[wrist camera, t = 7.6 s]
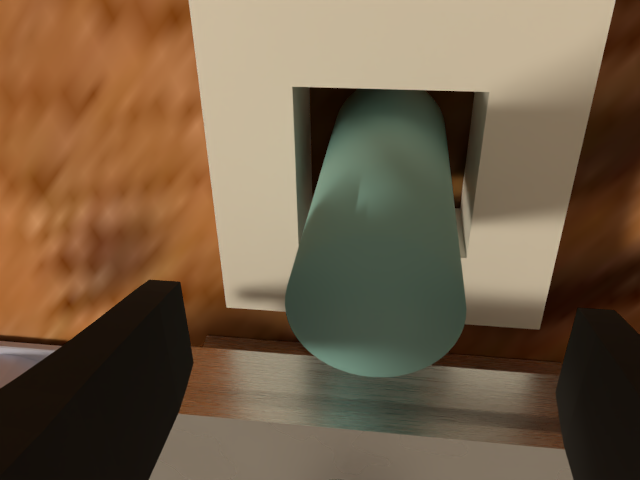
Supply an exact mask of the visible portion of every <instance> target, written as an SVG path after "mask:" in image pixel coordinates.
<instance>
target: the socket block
mask: <svg viewBox="0 0 640 480" xmlns="http://www.w3.org/2000/svg"><path fill="white" fill-rule="evenodd" d="M615 1H616V0H189V6H190V14H191V22H192V31H193V39H194V47H195V55H196V63H197V71H198V80H199V88H200V96H201V104H202V112H203V120H204V129H205V137H206V145H207V153H208V161H209V169H210V178H211V186H212V194H213V202H214V210H215V218H216V226H217V235H218V243H219V251H220V259H221V267H222V275H223V284H224V292H225V300H226V307H227V308H241V309H255V310H269V311H283V312H286V309H285V294H286V289H287V285H288V281H289V278H290V274H291V271H292V268H293V264H294V261H295V257H296V254H297V251H298V247H299V244H300V240H301V237H302V234H303V230H304V227H305V223H306V220H307V217H308V213H309V210H310V206H311V203H312V163H311V122H310V87H324V88H361V89H398V90H435V91H472V92H474V100H473V108H472V116H471V124H470V132H469V140H468V149H467V157H466V165H465V173H464V181H463V189H462V197H461V205H460V208H455V214H456V222H457V231H458V239H459V248H460V256H461V265H462V273H463V282H464V290H465V299H466V308H467V309H466V320H465V324H467V325H481V326H496V327H510V328H524V329H538V330H540V326H541V321H542V317H543V313H544V308H545V304H546V300H547V295H548V291H549V287H550V282H551V278H552V274H553V269H554V265H555V261H556V256H557V252H558V248H559V243H560V239H561V235H562V230H563V226H564V222H565V217H566V213H567V209H568V204H569V200H570V196H571V191H572V187H573V183H574V178H575V174H576V170H577V165H578V161H579V157H580V152H581V148H582V144H583V139H584V135H585V131H586V126H587V122H588V118H589V113H590V109H591V105H592V100H593V96H594V92H595V87H596V83H597V79H598V74H599V70H600V66H601V61H602V57H603V53H604V48H605V44H606V40H607V35H608V31H609V27H610V23H611V18H612V14H613V10H614V5H615Z"/></svg>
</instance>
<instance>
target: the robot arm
mask: <svg viewBox="0 0 640 480" xmlns="http://www.w3.org/2000/svg"><path fill="white" fill-rule="evenodd" d="M193 364H194V361H193V355H192V349H191V343H190V337H189V331H188V325H187V319H186V314H185V308H184V302H183V296H182V290H181V284H180V282H175V281H159V280H148V281H147V282H146V283H144V284H143V285H141V286H140V287H139V288H137V289H136V290H135V291H133V292H132V293H131V294H129V295H128V296H127V297H126V298H124V299H123V300H122V301H120V302H119V303H118V304H117V305H115V306H114V307H113V308H111V309H110V310H109V311H108V312H106V313H105V314H104V315H103V316H101V317H100V318H99V319H97V320H96V321H95V322H93V323H92V324H91V325H89V326H88V327H87V328H85V329H84V330H83V331H82V332H80V333H79V334H78V335H76V336H75V337H74V338H72V339H71V340H70V341H68V342H67V343H66V344H64V345H63V346H56V345H44V344H32V343H19V342H7V341H0V480H149V478H150V476H151V474H152V471H153V469H154V467H155V465H156V463H157V460H158V458H159V456H160V454H161V452H162V449H163V447H164V445H165V443H166V440H167V438H168V436H169V434H170V431H171V429H172V427H173V424H174V422H175V420H176V418H177V415H178V413H179V411H180V407H181V404H182V401H183V398H184V395H185V391H186V388H187V385H188V381H189V378H190V374H191V371H192V367H193ZM555 394H556V401H557V407H558V414H559V421H560V427H561V433H562V439H563V444H564V448H565V452H566V455H567V459H568V462H569V466H570V469H571V473H572V476H573V480H640V335H639V334H638V333H637V332H636V331H635V330H634V329H633V328H632V327H631V326H630V325H629V324H628V323H627V322H626V321H625V320H624V319H623V318H622V317H621V316H620V315H619V314H618V313H617V312H616V311H615V310H604V309H589V308H577V312H576V316H575V320H574V323H573V327H572V331H571V335H570V338H569V342H568V346H567V350H566V353H565V357H564V361H563V365H562V368H561V372H560V376H559V380H558V383H557V387H556V391H555Z"/></svg>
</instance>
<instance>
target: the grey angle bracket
mask: <svg viewBox="0 0 640 480" xmlns="http://www.w3.org/2000/svg"><path fill="white" fill-rule="evenodd" d="M191 349H192V355H193V361H194V364H193V367H192V371H191V374H190V378H189V381H188V385H187V388H186V391H185V395H184V398H183V401H182V404H181V407H180V411H179V413H178V415H177V418H176V420H175V422H174V424H173V427H172V429H171V431H170V434H169V436H168V438H167V440H166V443H165V445H164V447H163V449H162V452H161V454H160V456H159V458H158V460H157V463H156V465H155V467H154V469H153V471H152V474H151V476H150V478H149V480H573V476H572V473H571V469H570V466H569V462H568V459H567V455H566V452H565V448H564V444H563V439H562V433H561V427H560V421H559V414H558V407H557V401H556V394H555V391H556V387H557V383H558V380H559V376H560V372H561V368H562V363H561V362H549V361H535V360H522V359H509V358H496V357H483V356H470V355H457V354H445V355H444V356H443V357H442V358H441V359H439V360H438V361H436V362H435V363H433V364H431V365H430V366H428V367H426V368H424V369H421V370H419V371H416V372H413V373H409V374H406V375H401V376H394V377H367V376H360V375H356V374H351V373H348V372H345V371H342V370H339V369H337V368H334V367H332V366H330V365H328V364H326V363H325V362H323V361H321V360H320V359H318V358H317V357H315V356H314V355H313V354H311V353H310V352H309V351H308V350H307V349H306V348H305V347H304V346H303V345H302V344H301V343H300V342H287V341H274V340H261V339H247V338H234V337H221V336H208V335H207V337H206V339H205V342H204V344H203V346H202V347H191Z"/></svg>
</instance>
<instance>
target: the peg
mask: <svg viewBox="0 0 640 480" xmlns="http://www.w3.org/2000/svg"><path fill="white" fill-rule="evenodd" d="M285 309H286V315H287V319H288V322H289V325H290V327H291V329H292V331H293V333H294V334H295V336H296V337H297V339H298V340H299V341H300V342H301V344H302V345H303V346H304V347H305V348H306V349H307V350H308V351H309V352H310V353H311V354H313V355H314V356H315V357H317V358H318V359H320V360H321V361H323V362H325V363H326V364H328V365H330V366H332V367H334V368H337V369H339V370H342V371H345V372H348V373H351V374H356V375H360V376H367V377H394V376H401V375H406V374H409V373H413V372H416V371H419V370H421V369H424V368H426V367H428V366H430V365H431V364H433V363H435V362H436V361H438V360H439V359H441V358H442V357H443V356H444V355H445V354H446V353H448V352H449V351H450V349H451V348H452V347H453V346H454V345H455V343H456V342H457V340H458V338H459V337H460V335H461V333H462V330H463V328H464V324H465V320H466V309H467V308H466V299H465V290H464V282H463V273H462V265H461V256H460V248H459V239H458V231H457V222H456V214H455V206H454V197H453V189H452V180H451V172H450V163H449V155H448V146H447V138H446V129H445V121H444V117H443V114H442V112H441V109H440V107H439V106H438V104H437V102H436V101H435V100H434V99H433V97H432V96H431V95H429V94H428V93H427V92H426V91H425V90H398V89H361V88H359V89H357V90H356V91H355V92H353V93H352V94H351V95H350V96H349V97H348V98H347V99H346V101H345V102H344V103H343V105H342V106H341V108H340V110H339V112H338V115H337V118H336V121H335V125H334V128H333V131H332V135H331V138H330V142H329V145H328V148H327V152H326V155H325V159H324V162H323V165H322V169H321V172H320V176H319V179H318V183H317V186H316V189H315V193H314V196H313V200H312V203H311V206H310V210H309V213H308V217H307V220H306V223H305V227H304V230H303V234H302V237H301V240H300V244H299V247H298V251H297V254H296V257H295V261H294V264H293V268H292V271H291V274H290V278H289V281H288V285H287V289H286V294H285Z"/></svg>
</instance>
